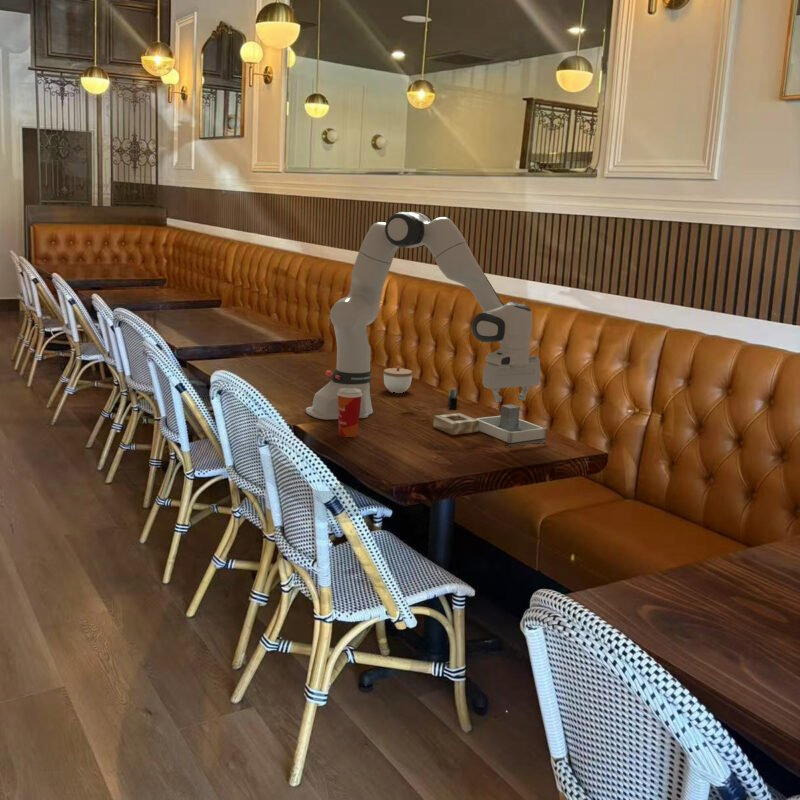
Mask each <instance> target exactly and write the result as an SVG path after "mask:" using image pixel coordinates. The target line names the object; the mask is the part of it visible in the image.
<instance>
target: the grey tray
mask: <svg viewBox="0 0 800 800" xmlns="http://www.w3.org/2000/svg"><path fill="white" fill-rule="evenodd" d="M500 417H501V415H494V416H493V415H492V416H486V417H485V416H484V417H477V418H474V419H476V420H479V427H478V432H481V433H484V434H487V435H489V436H491V437H494V438H496V439H499V440H501V441H503V442H505V443H508V444H504V445H505V446H504V447H506V446H508V447H511V448H513V447H512V446H518V447H520V446H519V445H525V446H528V445H527V444H532V445H537V444H536V443H539V444H545V443H546V432H547V428H545V427H543V426H541V425H537V424H535V423H531V422H529V421H526V420H524V419H522V418H519V423H518V431H515V432H509V431H507V430H504V429H502V428H500ZM544 442H545V443H544ZM508 447H507V448H508Z"/></svg>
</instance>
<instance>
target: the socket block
mask: <svg viewBox="0 0 800 800" xmlns="http://www.w3.org/2000/svg"><path fill="white" fill-rule="evenodd" d="M432 425H433V426H432V427H433V428H435V429H437V430H439V431H442V432H444V433H446V434H449V435H451V436H454V435H455V436H456V435H461V434H470V433H476V432H477V433H478V432H479V430H478V427H479V420H476V419H475V418H473V417H470V416H469V415H466V414H464V413H461V412H458V413H457V412H456V413H447V414H439V415H433V424H432Z"/></svg>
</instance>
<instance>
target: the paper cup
mask: <svg viewBox="0 0 800 800" xmlns="http://www.w3.org/2000/svg"><path fill="white" fill-rule="evenodd" d="M337 395H338V419H337V420H338V435H340V436H339V437H341V436H342V438H345V437H353V438H356V437H358V433H359V424H360V418H359V416H360V405H361V396H362V393H361V390H360V389H356V388H353V389H352V388H341V389H339V390H338V393H337Z"/></svg>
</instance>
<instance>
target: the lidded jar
mask: <svg viewBox="0 0 800 800" xmlns="http://www.w3.org/2000/svg"><path fill="white" fill-rule="evenodd" d="M412 379H413V370H411V369H407V368H400V366H399V365H398V366H396V367H391V368H389V367H388V368H385V369H383V383H384V386H385V388H386V389H387V391H388V392H390V393H393V392H395V393H394V394H402V393H403V392H404V393H405V392H406V391H407V390H408V389H409V388H410V386H411V383H412ZM404 393H403V394H404Z"/></svg>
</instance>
